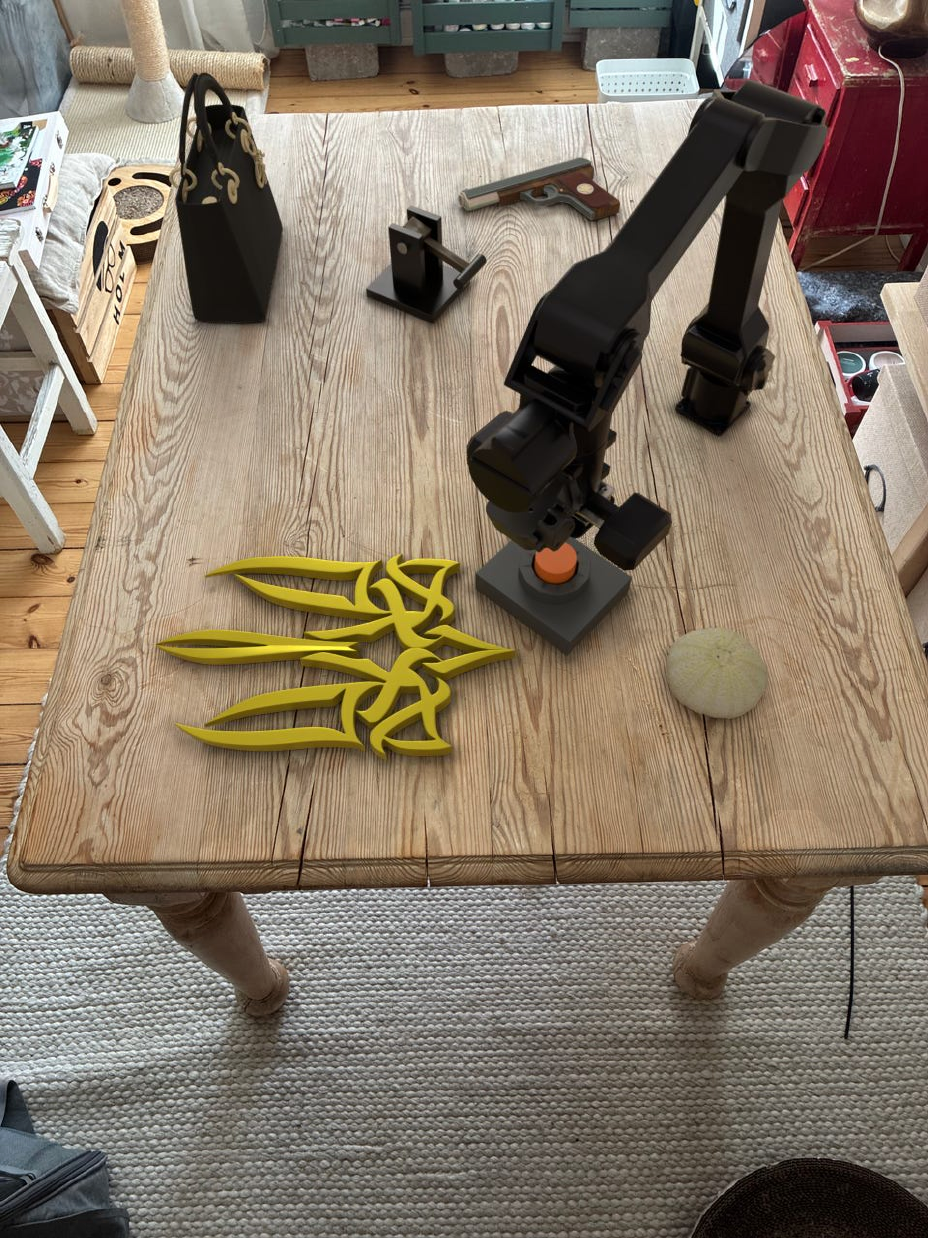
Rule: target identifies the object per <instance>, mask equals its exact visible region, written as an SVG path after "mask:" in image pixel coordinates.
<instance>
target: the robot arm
mask: <svg viewBox="0 0 928 1238" xmlns="http://www.w3.org/2000/svg"><path fill="white" fill-rule="evenodd" d="M826 119H827V112H826V109H825V108H822V106H821V105H819V104H818V103H815V102H812V101H810V100H808V99H804V98H803V97H802V98H801V97H800V96H796V95H793V94H791V93H789V92H786V91H783V90H780V89H778V88H776V87H773V86H770V85H767V84H764V83H762V82H759V81H757V80H754V79H748V80H746V81H745V82H743V84H741V85H740V87H739V88H738V89H737V90H733V89H725V88H724V89H721V88H720V89H716V88H715V89H713V91H712V94H711V96H709V97H706V98H705V99H704V100H703V101H702V102H701V103H700V104H699V106H698V108H697V109H696V111H695V113H694V115H693V118H692V119H691V122H690V125H689V128H688V131H687V135H686V137H685V138H684V140H683V141H682V142H681V144H680V145H679V147H678V148H677V150H676V151H675V152H674V154H673V155H672V156H671V158H670V159H669V161H668V162H667V164H666V165H665V166H664V168H663V169H662V171H661V172H660V173H659V175H658V176H657V177H656V178H655V180H654V182H653V183H652V184H651V186H650V187H649V189H648V190H647V192H645V194H644V196H642V198H641V200H640V201H639V203H638V204H637V205H636V207H635V208H634V209H633V211H632V213H630V215H629V216H628V218H627V220H626V221H625V222H624V223H623V225H622V226H621V228H620V229H619V230H618V232H617V233H616V235H615V236H614V237H613V238H612V240H611V241H610V242H609V244H608V245H607V246H606V248H604V249H603V250H602V251H600V252H598V253H596V254H593V255H591V256H588V257H586V258H584V259H581V260H579V261H577V262H575V263H573V264H572V265H571V266H570V267H569V269H568V270H567V271H566V272H565V273H564V274H563V275H562V277H561V278H560V279H559V280H558V281H557V282H556V284H555V285H554V286H553V287H552V288H551V289H550V290H547V291H546V292H545V293H544V294H543V295H542V296H541V297H540V299H539V300H538V302H537V303H536V305H535V307H534V309H533V311H532V313H531V316H530V318H529V321H528V323H527V326H526V327H525V331H524V333H523V335H522V338H521V340H520V343H519V345H518V347H517V350H516V352H515V354H514V356H513V360H512V361H511V364H510V367H509V369H508V372H507V374H506V376H505V379H504V381H503V385H504V386H505V387H506V388H508V389H510V390H512V391H513V392H516V393H517V394H519V404H518V408H517V409H516V411H515V412H512V411H509V410H504V411H502V412H500V413H498V414H497V415H496V416H495V417H493V418H492V419H490V421H489V422H488V423H486V424H485V425H484V426H483V427H481V428H480V429H479V430H478V431H477V432H476V433H475V434H473V435H472V436H471V437H470V438H469V440H468V443H467V444H466V465H467V468H468V473H469V476H470V478H471V480H472V483H473V485H474V487H476V489H477V490H478V491H479V492H480V494H481V495H482V496H483V497H484V498H485V499H486V500H487V501H488V502H487V503H486V505H485V512H486V514H487V516H488V518H489V520H490V522H491V524H492V525H493V528H494V530H496V531H497V532H499V533H500V534H501V535H504V536H505V537H507V538H508V539H509V540H510V541H511V540H512V541H514V542H515V543H517V544H518V545H519V546H520V547H522V548H523V549H525V550H536V551H537V552H539V553H540V552H541V551H542V550H543V549H544V548H549V549H550V550H552V551H553V552H554V551H557V550H558V549H559V548H560V547H561V546H562V545H563V544H564V543H565V542H566V541H567V540H568V538H569V537H571V538H575V539H576V540H577V539H580V538H582V537H583V536H584V535H586V533H587V532H588V531H590V530H591V528H593V527H594V526H595V527H596V529H598V531H597V532H596V534H595V536H594V538H593V546H594V547H595V549H596V550H597V552H598V555H600V556H601V557H603V558H604V559H606V560H607V561H609V562H610V563H612V564H613V565H615V566H616V567H618V568H619V569H621V570H622V571H623V572H625V571H626V572H627V571H635V569H637V567H639V565H640V564H642V562H644V560H645V559H646V558H647V557H648V556H649V555H650V554H651V553H652V552H653V551H654V550H655V549H656V548H657V547H658V546H659V545H660V543H662V541H663V540H665V538H666V537H667V536H668V535H669V534H670V530H671V528H672V524H673V520H672V519H673V517H672V513H671V512H669V511H667V510H666V509H665V508H664V507H661V506H660V505H658V504H657V503H656V502H654V501H652V500H650V499H649V498H647V497H646V496H645V495H643V494H642V493H639V492H633V493H632V494H631V495H630V496H629V497H628V498H626V499H625V501H624V502H623V503H622V504H621V505H620V506H618V505H617V504H616V503H615V502H616V500H615V497H614V496H613V495H614V493H615V491H616V489H615V487H613V486H612V485H611V484H609V483H608V482H606V481H604V480H605V479H606V478H607V477H608V476H609V475H610V472H611V467H612V466H611V465H610V464H608V463H606V461H605V458H606V452H607V450H608V449H609V448H610V447H611V446H612V445H613V444H615V443H616V442H617V441H616V440H617V437H618V432H617V431H615V430H614V429H612V428H611V424H612V420H613V414H614V411H615V410H616V408H617V406H618V404H619V402H620V401H621V398H622V397H623V395H624V393H625V391H626V389H627V387H628V386H629V384H630V383H631V380H632V378H634V377H633V376H634V375H635V373H636V371H637V370H638V367H639V365H640V363H641V362H642V360H643V355H644V354H643V349H644V346H645V341H646V339H647V337H649V333H651V332H650V331H651V317H652V301H653V300H654V299H655V297H656V295H657V294H658V292H659V290H660V289H661V287H662V286H663V284H664V283H665V282H666V280H667V279H668V277H669V276H670V274H671V273H672V271H673V270H674V269H675V268H676V266H677V264H678V263H679V262H680V260H681V259H682V258H683V257H684V256H685V253H686V252H687V251H688V249H689V248H690V246H691V245H692V243H693V242H694V241H695V240H696V238H697V237H698V235H699V233H701V231H702V229H703V228H704V226H705V225H706V224H707V222H708V221H709V219H710V218H711V216H712V215H713V214H714V212H715V211H716V210H717V208H718V207H719V205H720V204H721V203H722V201H723V199H725V201H724V207H723V212H722V218H721V224H720V229H719V230H720V231H719V237H718V243H717V248H716V253H715V261H714V266H713V273H712V279H711V285H710V291H709V297H708V302H707V304H706V305H705V306H704V307H703V309H702V310H700V312H699V313H698V315H696V316H695V317H694V318H693V319H692V320H691V321H690V322H689V324H688V326H687V327H686V330H685V331H684V334H683V336H682V340H681V346H680V347H681V348H680V349H681V351H680V355H679V356H680V357H681V360H680V361H681V364H683V365H684V366H689V367H688V368H687V370H686V373H685V377H684V381H683V384H682V388H681V392H680V396H681V397H682V399H681V400H679V401H678V402H677V403H676V404H675V406H674V411H675V412H676V413H678V414H680V415H681V416H683V417H685V418H687V419H688V420H690V421H692V422H693V423H695V424H696V425H698V426H701V428H703V429H705V430H707V431H709V432H710V433H712V434H714V435H716V436H718V437H721V436H724V434H726V432H728V431H729V429H730V428H732V426H733V425H735V423H736V422H738V421H739V420H740V419H741V418H742V416H744V415H745V414H746V412H747V411H748V410H749V409H751V406H752V403H751V402H750V401H749V400H748V398H749V396H750V395H751V394H752V393H753V391H759V390H760V391H761V390H763V389H764V388H765V387H766V385H767V382H768V379H769V376H770V372H771V371H772V369H773V363H774V361H775V360H776V355H775V354H774V353H773V352H772V351H771V350H769V349H768V348H767V345H768V339H769V334H770V325H769V322H768V321H767V319H766V317H765V315H764V313H763V311H762V309H761V308H760V306H759V303H760V299H761V295H762V290H763V286H764V282H765V277H766V275H767V274H766V273H767V270H768V265H769V260H770V256H771V252H772V248H773V243H774V240H775V235H776V231H777V228H778V227H777V226H778V222H779V219H780V214H781V210H782V205H783V201H784V200H785V198H786V197H787V195H789V193H790V192H791V191H792V189H794V187H795V186H796V184H797V183H798V182H799V181H800V180H801V178H802V177H803V176H804V174H805V173H807V172H809V171H810V170H811V168H812V167H813V165H814V164H815V162H816V161H817V159H818V157H819V155H820V153H821V151H822V149H823V146H824V144H825V142H826V139H827V135H828V131H829V130H828V129H829V127H828V126H827V125H826ZM537 357H538V358H540V359H543V361H546V362H548V363H550V364H552V365H553V367H552V368H551V369H549V370H548V372H546V371H544V370H542V369H540V368H538V367H537V366H534V365H533V363H534V362H535V360H536V359H537Z"/></svg>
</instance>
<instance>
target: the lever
mask: <svg viewBox="0 0 928 1238" xmlns="http://www.w3.org/2000/svg"><path fill="white" fill-rule="evenodd" d="M402 227H404V228H407V229H409V230H412V231H415V232H417V233H420V234H422V235H423V238H424V249H426V250H427V251H429V252H430V253H432V254H433V255H435V256H436V257H438V258H439V259H441V260H442V261H443V263H445V264H446V265H448V266H449V267H450V268H452V269H455V270H457V271H459V272H460V274H459V275H458V276H457V277H456V278H455V279H454V281H453V284H454V286H455V287H456V288H457V289H459V290H462V289H463V288H464V287H465V286H466V285H467V284H468V283H469V281H470V282H471V280H472V279H473V278H475V276H477V274H478V273H479V272H480V271H481V270H482V269H483V267H485V265H486V264H487V260H488V259H487V257H486V256H485V255H484V254H483V253H478V254H476V255H475V257H474V258H473V259H472V260H470V262H468V261H467V260H464V259H463V258H462V257H460V256H459V255H458V254H456V253H455V252H453V251H451V250H450V249H449V248H447V247H445V246H444V245H443V244H442V245H441V244H439V243H438V242H437V241H435V240H434V239H432V238H431V237H430V234H431V230H432V229H431V228H429V227H428V226H427V225H425V224H424V223H422V222H421V221H419V220H418V219H416V218H415V217H412V218H411V219H410V220H409V221H408V222H407V221H406V222H405V223H404V224H403V226H402Z"/></svg>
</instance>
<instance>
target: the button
mask: <svg viewBox="0 0 928 1238" xmlns="http://www.w3.org/2000/svg"><path fill="white" fill-rule="evenodd" d="M576 562H577V555H576V552H575V550H574V549H573V548H572V547H571V546H570V545H569V544H567V543H564V544H563V545H562V546H561V547H560V548H559V549H558V550H557V551H554V552H553V551H552V550H550V549H549V548H544V549H543V550H542V551H541V552H540V553H539V552H537V551H536V556H535V571H536V573H537V575H538V576H539V577H540V578H541V579H542V580H544V581H546V582H548V583H552V584H560V583H563V582H566V581H568V580H569V579H570V578H571V577H572V576H573V575H574V572H575V568H576Z"/></svg>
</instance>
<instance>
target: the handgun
mask: <svg viewBox="0 0 928 1238" xmlns="http://www.w3.org/2000/svg"><path fill="white" fill-rule="evenodd" d="M594 174H595V168H594V166H593V165H592V161H591V160H590V159H588V158H585V157H580V156H579V157H575V158H572V159H569V160H565V161H561V162H558V163H555V164H551V165H548V166H544V167H540V168H537V169H534V170H533V169H532V170H530V171H527V172H523V173H519V174H516V175H513V176H509V177H505V178H502V179H499V180H495V181H492V182H488V183H485V184H481V185H477V186H474V187H471V188H465V189H463V190H462V191H460V193H459V194H458V203H459V205H460V207H461V208H463V209H465V210H466V211H467V212H469V213H470V212H472V211H476V210H479V209H483V208H486V207H489V206H493V205H496V204H497V205H498V206H499V207H502V206H507V205H509V204H513V203H517V202H521V201H526V202H527V203H529V205H531V206H534V207H536V208H542V207H547V206H550V205H554V204H557V203H567V204H569V205H570V206H571V207H573V208H574V209H575V210H577V211H579V213H581V214H583V215H584V216H585V217H586V218H588V220H592V221H596V220H601V219H602V218H603V219H604V218H607V217H609V216H612V215H616V214H619V213H620V207H621V201H620V200H619V199H618V198H617V197H616V196H614V195H613V194H611V193H610V192H608V191H607V190H606V189H604V188H603V187H602V186H601V185H599V184H598V183H596V182H595V181H594ZM544 194H545V195H547V197H546V198H545V197H544V198H535V197H537V196H541V195H544Z"/></svg>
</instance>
